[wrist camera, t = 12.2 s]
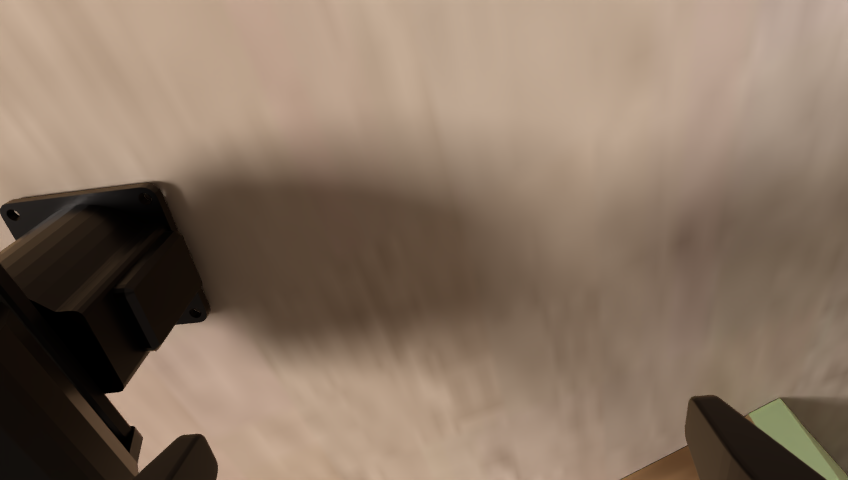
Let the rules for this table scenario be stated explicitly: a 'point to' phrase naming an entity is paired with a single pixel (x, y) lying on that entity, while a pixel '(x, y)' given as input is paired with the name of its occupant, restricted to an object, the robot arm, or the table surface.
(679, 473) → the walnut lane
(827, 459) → the green end wall
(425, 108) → the table surface
